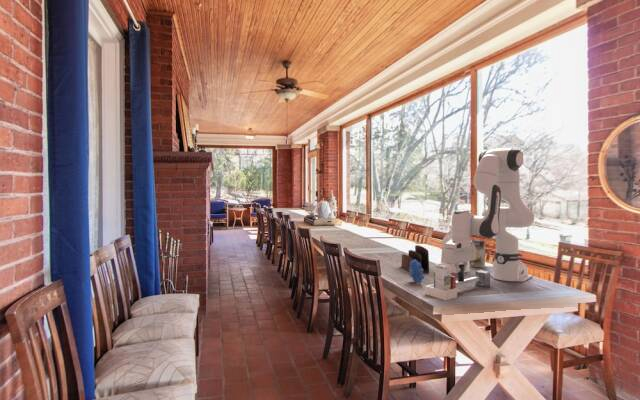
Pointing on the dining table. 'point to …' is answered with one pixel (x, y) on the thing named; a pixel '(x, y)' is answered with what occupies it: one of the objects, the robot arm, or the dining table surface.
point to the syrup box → (442, 276)
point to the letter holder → (417, 258)
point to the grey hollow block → (483, 278)
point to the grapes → (416, 271)
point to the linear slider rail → (462, 278)
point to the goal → (440, 292)
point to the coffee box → (479, 254)
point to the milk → (445, 239)
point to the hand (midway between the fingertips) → (460, 271)
